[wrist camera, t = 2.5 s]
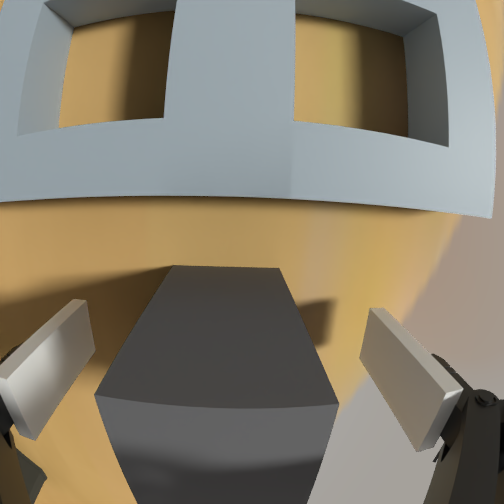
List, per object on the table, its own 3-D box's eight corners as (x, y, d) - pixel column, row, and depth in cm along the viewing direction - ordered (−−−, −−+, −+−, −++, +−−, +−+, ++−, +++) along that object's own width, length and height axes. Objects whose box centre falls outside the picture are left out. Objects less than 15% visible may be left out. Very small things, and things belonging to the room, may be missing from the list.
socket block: (19, 195, 14) (-71, 215, 7) (52, -15, 10) (-3, -63, 3) (445, 207, 15) (537, 231, 8) (433, -3, 12) (495, -46, 5)
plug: (179, 349, 16) (139, 507, 6) (175, 262, 15) (94, 395, 5) (271, 352, 16) (303, 512, 7) (277, 264, 15) (339, 403, 6)
